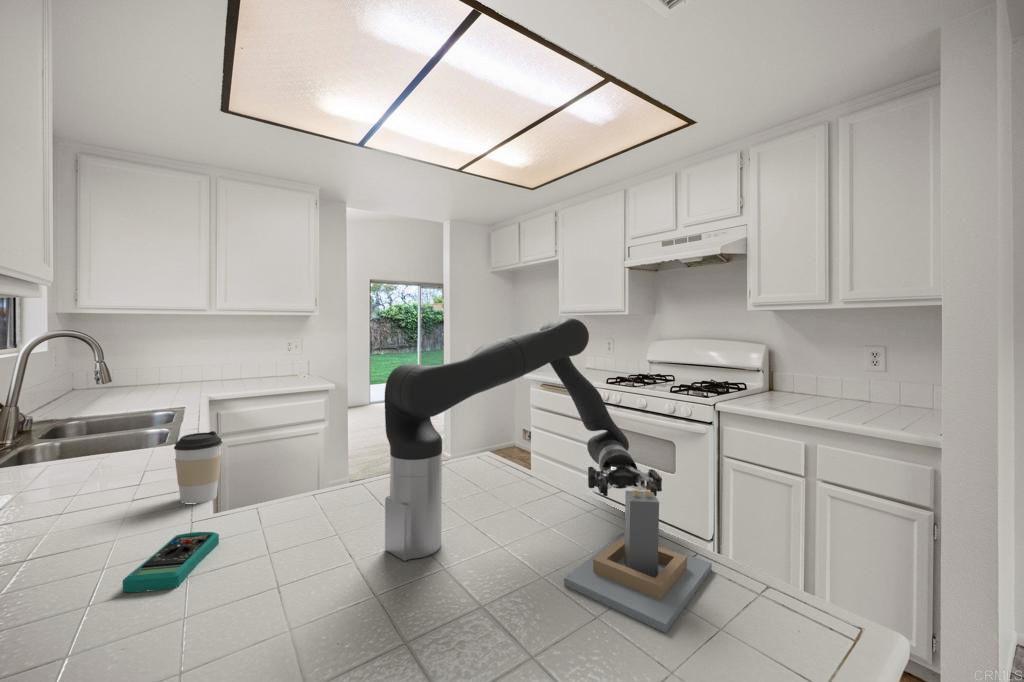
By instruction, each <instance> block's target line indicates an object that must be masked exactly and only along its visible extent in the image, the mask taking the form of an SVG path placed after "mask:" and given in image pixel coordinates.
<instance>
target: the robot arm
mask: <svg viewBox="0 0 1024 682" xmlns="http://www.w3.org/2000/svg"><path fill="white" fill-rule="evenodd" d="M589 340H590V333H589V330H588V328H587V326H586V325H585V324H584V323H583V322H582V321H580V320H579V319H576V318H564V319H559V320H556V321H551V322H547V323H545V324H543V325H542V326H541V327H540V329H539V330H538V331H532V332H526V333H525V332H524V333H519V334H514V335H509V336H506V337H502V338H499V339H495V340H492V341H489V342H487V343H484V344H483V345H481V346H479V347H478V348H476V350H475V351H474V352H473V353H472V354H471V355H469V356H468V357H466V358H463V359H461V360H457V361H453V362H449V363H444V364H438V365H437V364H436V365H427V364H426V365H425V364H419V363H403V364H400V365H398V366H397V367H395V368H394V369H393V370H392V371H391V372H390V374H389V375H388V377H387V379H386V383H385V387H384V418H385V419H384V421H385V423H384V424H385V434H386V438H387V441H388V444H389V453H390V454H389V459H390V460H389V466H390V467H389V478H390V480H389V495H388V496H386V497H385V500H384V550H385V551H387V552H388V553H391V554H392V555H394V556H395V557H396V558H398V559H400V560H402V561H403V562H406V561H409V560H411V559H419V558H424V557H428V556H431V555H433V554H435V553H437V552H438V551H439V549H440V548H441V546H442V525H443V524H442V518H443V513H442V511H443V509H442V507H443V506H442V505H443V503H442V501H443V496H442V495H443V489H442V487H443V439H442V436H441V434H440V433H439V432H438V430H437V429H436V428H435V426H434V425H433V423H432V420H431V418H432V417H433V418H434V417H435V416H438V415H440V414H442V413H444V412H446V411H447V410H450V409H451V408H453V407H455V406H456V405H458V404H460V403H462V402H464V401H465V400H467V399H469V398H471V397H473V396H475V395H477V394H481V393H483V392H485V391H489V390H491V389H493V388H496V387H499V386H501V385H504V384H507V383H509V382H513V381H515V380H516V379H519V378H521V377H523V376H526V375H528V374H529V373H532V372H535V371H536V370H538V369H540V368H542V367H544V366H545V365H547V364H549V365H550V366H551V368H552V369H553V370H554V372H555V374H556V375H557V377H558V379H559V380H560V381H561V383H562V384H563V386H564V387H565V389H566V391H567V392H568V395H569V396H570V397H571V399H572V401H573V403H574V405H575V407H576V410H577V413H578V415H579V417H580V419H581V421H582V424H583V426H584V427H585V429H586V430H588V431H590V432H599V431H604V432H602V433H600V434H597V435H594V436H592V437H590V438H589V439H588V440H587V444H586V446H587V452H588V454H589V456H590V458H591V459H592V460H593V462H594V463H596V464H598V469H599V470H597V469H595V467H593V466H588V467H587V488H589V489H594V488H596V487H597V490H598V491H599V493H600V494H602V495H603V497H608V490H610V489H612V488H614V489H617V490H618V489H626V488H632V489H638V490H639V491H645V490H650V491H651V492H653V493H654V495H655V496H656V497H657V495H658V492H659V493H660V492H662V490H663V489H662V487H663V486H662V483H663V478H662V476H660V475H659V473H658V472H657V471H656V470H655V469H652V468H650V469H648V472H643V471H641V470H639V469H638V466H637V464H636V462H635V461H634V458H633V457H632V456H631V454H630V452H629V449H630V444H629V441H628V440H629V439H628V437H627V436H626V435H625V433H624V432H623V431H622V430H621V428H620V427H618V425H617V424H616V423H615V422H614V420H613V419H612V416H611V415H610V413H609V411H608V408H607V406H606V403H605V401H604V399H603V397H602V395H601V393H600V392H599V390H598V389H597V388H596V387H595V386H594V385H593V384H592V383H591V382H590V381H589V380H588V379H587V378H586V377H585V376H584V375H583V374H582V373H581V372H580V371H579V370H578V369H577V367H576V366H575V364H574V363H573V361H572V359H571V358H570V357H573V356H574V357H575V356H578V355H580V354H581V353H583V352H584V351H585V349H586V348H587V346H588V344H589Z"/></svg>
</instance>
